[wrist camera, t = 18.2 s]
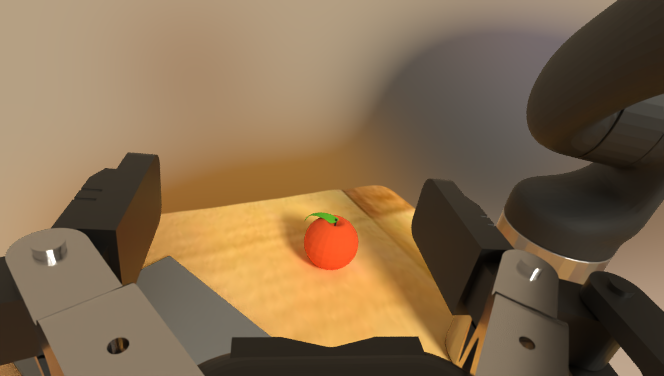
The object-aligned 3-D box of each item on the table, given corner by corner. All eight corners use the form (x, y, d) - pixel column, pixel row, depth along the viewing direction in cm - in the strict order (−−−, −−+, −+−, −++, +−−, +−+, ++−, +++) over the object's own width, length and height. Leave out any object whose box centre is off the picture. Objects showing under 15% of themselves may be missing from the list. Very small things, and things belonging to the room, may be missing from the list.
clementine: (283, 259, 52) (289, 213, 49) (314, 236, 57) (322, 194, 54) (334, 290, 49) (344, 243, 45) (362, 263, 54) (373, 219, 51)
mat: (169, 259, 48) (169, 255, 48) (278, 347, 40) (279, 343, 40) (-1, 343, 36) (-2, 339, 35) (109, 497, 28) (108, 493, 27)
